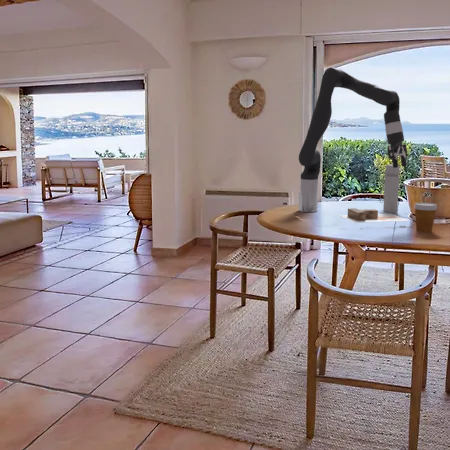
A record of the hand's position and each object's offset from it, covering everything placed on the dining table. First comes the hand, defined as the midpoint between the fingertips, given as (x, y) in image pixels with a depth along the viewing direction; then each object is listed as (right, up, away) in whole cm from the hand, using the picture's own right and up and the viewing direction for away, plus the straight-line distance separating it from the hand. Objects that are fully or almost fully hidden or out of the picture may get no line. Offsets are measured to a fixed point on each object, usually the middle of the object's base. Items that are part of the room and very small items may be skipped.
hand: (400, 167), depth 257 cm
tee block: (-15, -24, +9) cm, 29 cm away
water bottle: (+4, -21, +33) cm, 39 cm away
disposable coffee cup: (+5, -30, -17) cm, 35 cm away
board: (-10, -25, +10) cm, 28 cm away
